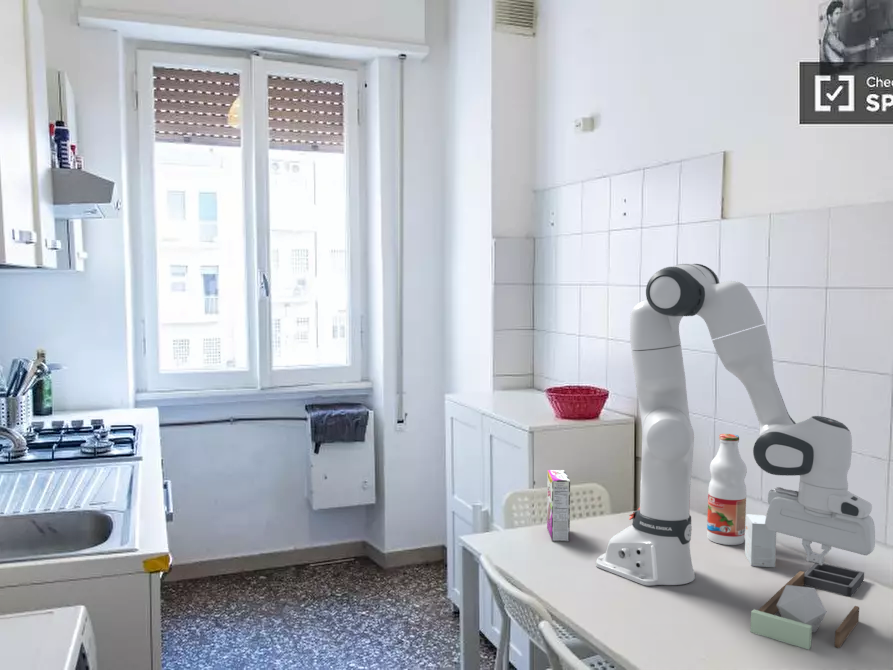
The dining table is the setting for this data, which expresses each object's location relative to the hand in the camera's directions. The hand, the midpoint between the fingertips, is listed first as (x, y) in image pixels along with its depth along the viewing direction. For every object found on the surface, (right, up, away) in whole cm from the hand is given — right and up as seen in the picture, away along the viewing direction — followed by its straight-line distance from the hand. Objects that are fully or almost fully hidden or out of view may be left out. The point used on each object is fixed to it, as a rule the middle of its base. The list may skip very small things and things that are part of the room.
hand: (814, 562), depth 153 cm
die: (-6, -11, -7) cm, 14 cm away
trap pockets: (+12, -9, +16) cm, 22 cm away
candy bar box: (-46, -7, +47) cm, 66 cm away
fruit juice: (-2, -8, +44) cm, 45 cm away
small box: (+1, -9, +29) cm, 30 cm away
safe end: (-13, -11, -12) cm, 21 cm away
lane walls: (-1, -10, -2) cm, 10 cm away
